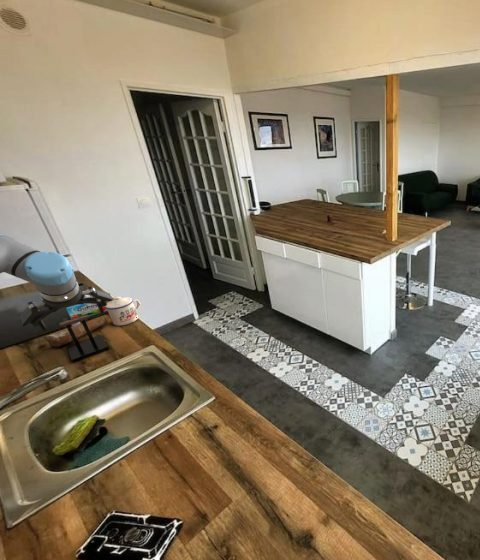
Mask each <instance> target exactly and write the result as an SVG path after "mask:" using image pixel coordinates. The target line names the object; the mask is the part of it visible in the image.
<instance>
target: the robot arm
mask: <svg viewBox="0 0 480 560" xmlns="http://www.w3.org/2000/svg"><path fill="white" fill-rule="evenodd" d="M2 273H4V274H5V273H6V274H8V275H11V276H12V277H15V278H17V279H21V280H23V281H26V282H28V283H30V284H32V285H34V287H35V289H36V290H37V292H38V294H39V295H40V297H41V298H42V301H40V302H35V301H34V300H33V301H29V302H27V307H26V308H25V309H24V310H23V312H22V313H21V314H20V315H19V317H17V318H18V321H19V323H20V326H21V327H26V326H28V325H29V324H31V325H32V326H33V327H34V328H35V327H36V328H37V327H40V328H41V330H42V331H43V332H45V331H48V329H47V327H46V324H45V323H44V321H43V320H44V319H45V318H47V317H48V316H50V314H52V313H57V312H58V311H60V309H63V308H67V307H71V306H75V305H78V304H81V305H83V304H85V303H88V304H97V306H98V308H99V310H100V312H101V313H100V314H104V313H105V312H104V311H103V307H104V306H106V305H107V303H108V302H110V301H112V300H113V299H114V298H113V297H112V295H111V293H110V292H107V291H103V290H101V289H97V288H95V286H92V285H91V286H88V288H87V289H86V290H84V291H83V290H81V288H80V286H79V282H78V280H77V278H76V275H75V271H74V267H73V265H72V264H71V263H70V261H69V260H68V258H67V257H66V256H64V255H63V254H61V253H59V252H54V251H40V250H38V249H37V248H34V247H32V246H30V245H28V244H25V243H23V242H21V241H19V240H17V239H15V238H13V237H11V236H10V235H9V236H8V235H5V234H2V233H0V274H2Z"/></svg>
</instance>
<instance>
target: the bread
mask: <svg viewBox="0 0 480 560" xmlns="http://www.w3.org/2000/svg"><path fill="white" fill-rule="evenodd" d="M107 322H108V319H107V318H106V317H105V316H98V317H96V318H92V319H88V320H87V321H86V324H87V326H88V328H89V330H90V332H91V333H92V332H93V331H95V330H96V329H99V328H100V327H102V326H104V325H105V324H107ZM80 323H81V322H80ZM71 328H72V330H73V332H74V334H75V336H76V338H77V340H79V338H81V337H83V336H85V335H87V333H86V331H85V329H84V327H83V325H82V323H81V324H80V325H77V326H74V327H72V326H71ZM43 338H44V340H45V341H46V342H47V343H48V344H49V345H50V347H51V346H52V347H53V346H54V347H58V348H59V347H63V346H65V345H69V344H71V343H72V342H74V341H73V339H72V337H71V335H70V333H69V331H68V329H67V328H64V329H61V330H58V331H55V332H52V333H51V334H49V335H46V336H44V337H43Z"/></svg>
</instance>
